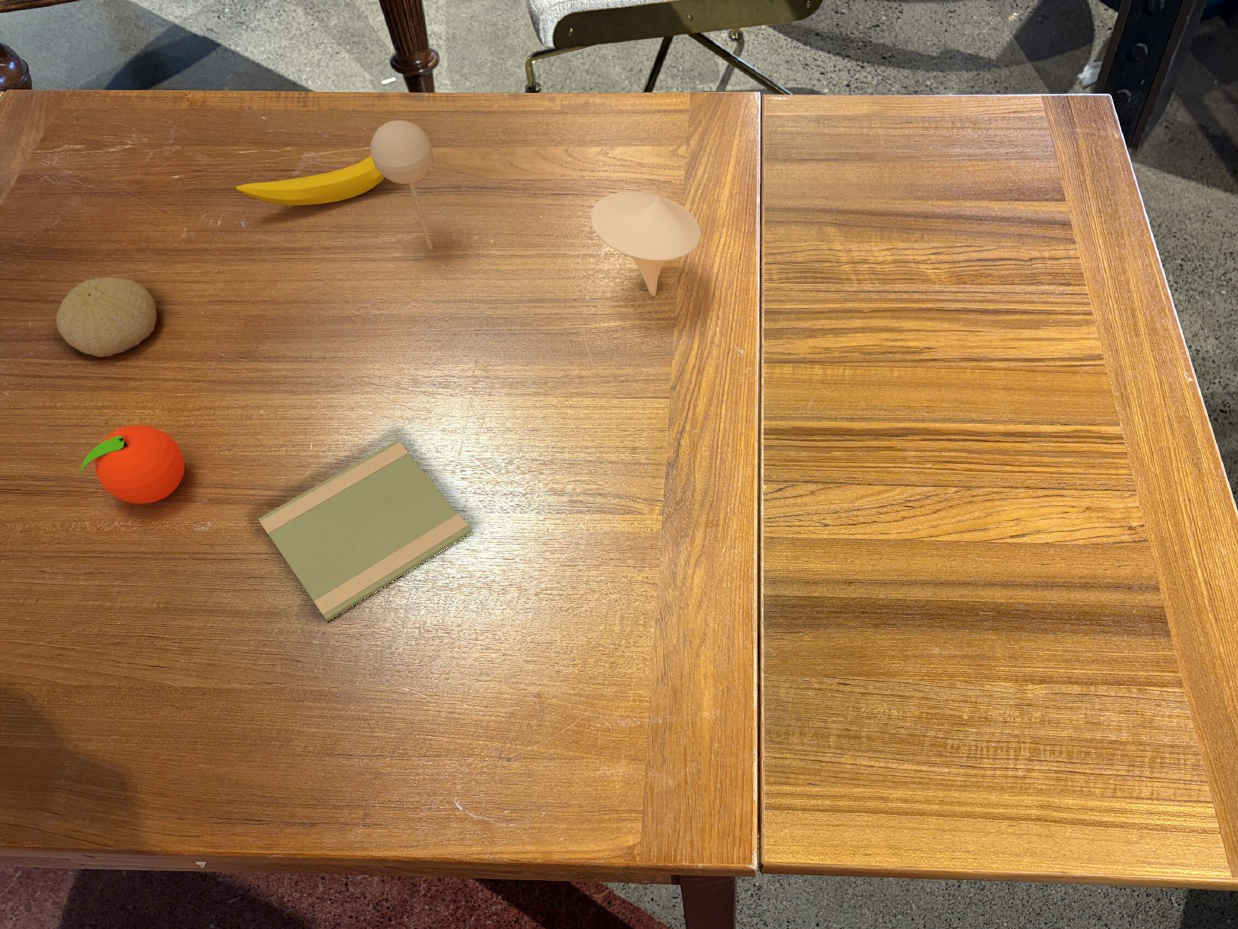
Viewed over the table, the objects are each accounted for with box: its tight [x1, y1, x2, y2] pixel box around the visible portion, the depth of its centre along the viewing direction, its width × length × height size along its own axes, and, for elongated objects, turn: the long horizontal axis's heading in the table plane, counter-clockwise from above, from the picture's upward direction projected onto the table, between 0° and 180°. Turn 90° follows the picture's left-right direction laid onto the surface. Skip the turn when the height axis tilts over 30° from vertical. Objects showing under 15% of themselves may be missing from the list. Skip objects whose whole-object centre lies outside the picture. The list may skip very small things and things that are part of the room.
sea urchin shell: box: [55, 277, 158, 358], centre depth 101 cm, size 9×8×8 cm
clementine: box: [80, 424, 185, 505], centre depth 89 cm, size 8×7×7 cm
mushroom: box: [590, 190, 702, 297], centre depth 100 cm, size 10×11×12 cm
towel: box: [257, 439, 473, 622], centre depth 89 cm, size 14×13×1 cm
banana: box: [234, 155, 385, 206], centre depth 111 cm, size 3×19×6 cm, turn 115°
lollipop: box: [370, 119, 434, 251], centre depth 103 cm, size 6×6×15 cm
